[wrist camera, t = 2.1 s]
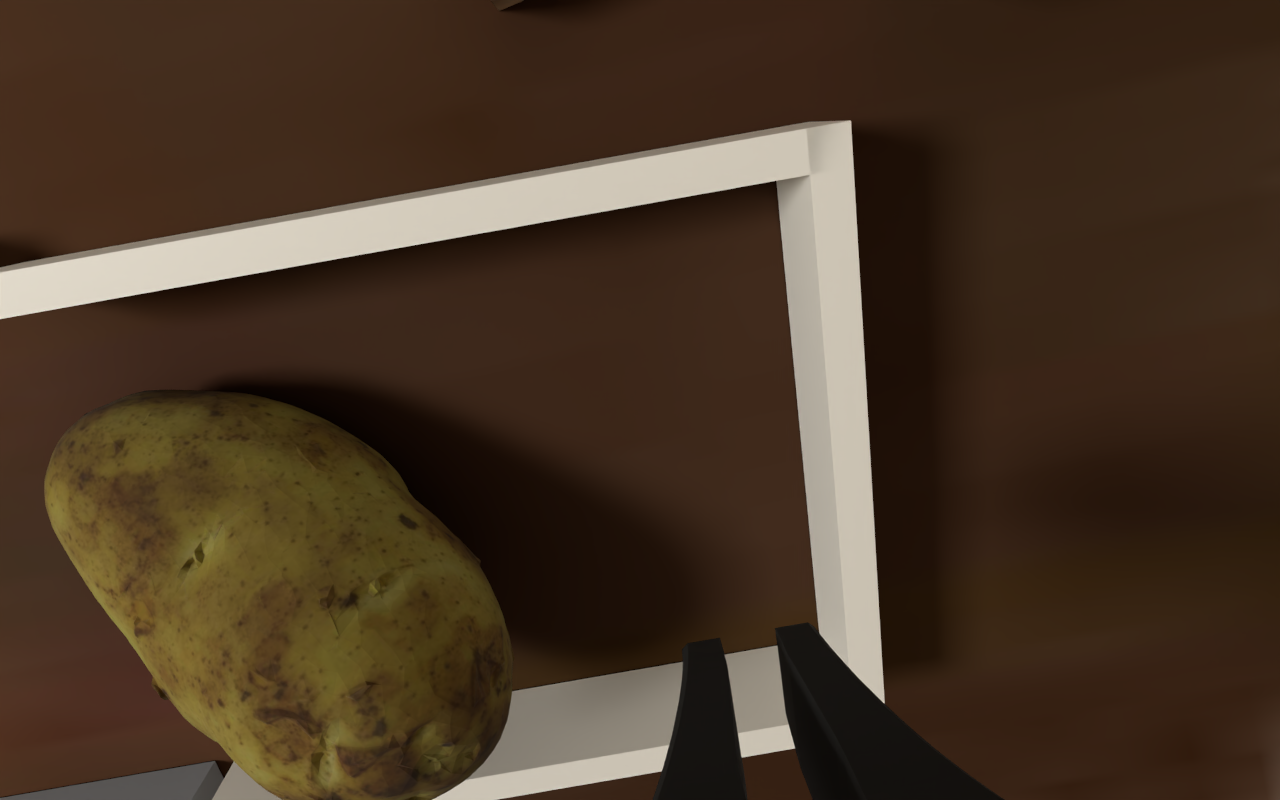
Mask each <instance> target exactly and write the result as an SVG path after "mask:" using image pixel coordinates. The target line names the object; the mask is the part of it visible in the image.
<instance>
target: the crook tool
mask: <svg viewBox="0 0 1280 800" xmlns="http://www.w3.org/2000/svg"><path fill="white" fill-rule="evenodd" d="M490 1H491V2H492V3H493V4H494V5H495V7H496V8H497V9H498V10H499V11H500V10H503V9H505V8H507V7H510V6H512V5H514V4H517V3H519V2H522V1H524V0H490Z"/></svg>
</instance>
